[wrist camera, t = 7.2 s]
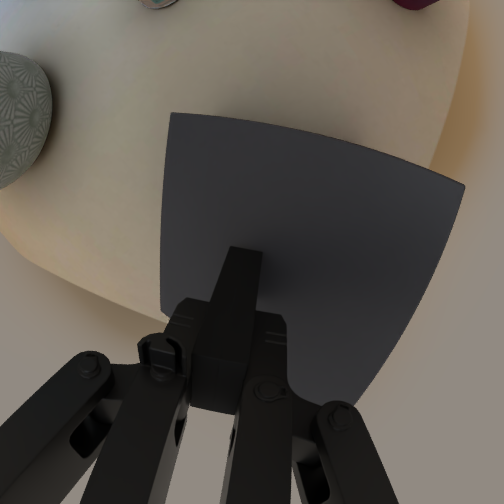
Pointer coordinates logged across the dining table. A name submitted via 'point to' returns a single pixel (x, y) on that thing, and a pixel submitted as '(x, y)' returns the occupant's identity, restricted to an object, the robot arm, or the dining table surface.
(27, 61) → the planter
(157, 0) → the beer can
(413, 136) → the dining table surface
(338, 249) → the dark grey square slab
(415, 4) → the cup
